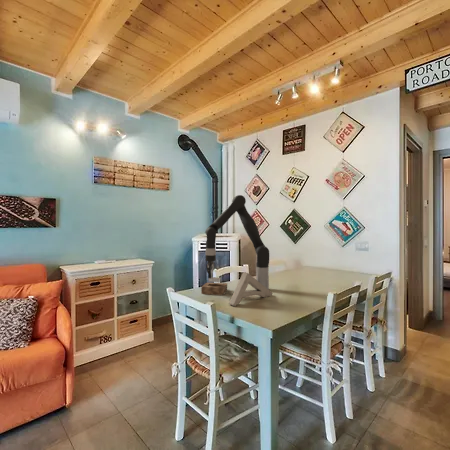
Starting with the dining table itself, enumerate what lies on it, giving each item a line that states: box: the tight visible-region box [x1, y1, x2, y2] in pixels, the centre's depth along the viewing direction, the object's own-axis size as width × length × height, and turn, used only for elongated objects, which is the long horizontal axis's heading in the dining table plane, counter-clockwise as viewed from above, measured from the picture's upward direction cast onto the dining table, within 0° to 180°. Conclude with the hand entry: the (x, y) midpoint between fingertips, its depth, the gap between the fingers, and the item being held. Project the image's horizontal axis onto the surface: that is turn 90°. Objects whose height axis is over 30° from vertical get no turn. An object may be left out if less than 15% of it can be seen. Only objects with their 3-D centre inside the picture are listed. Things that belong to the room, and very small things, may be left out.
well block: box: [200, 281, 228, 296], centre depth 202 cm, size 16×14×5 cm
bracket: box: [207, 267, 221, 283], centre depth 202 cm, size 8×4×10 cm, turn 78°
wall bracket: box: [228, 271, 273, 307], centre depth 181 cm, size 22×4×30 cm
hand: (210, 277), depth 203 cm, fingers closed on bracket, 4 cm apart
